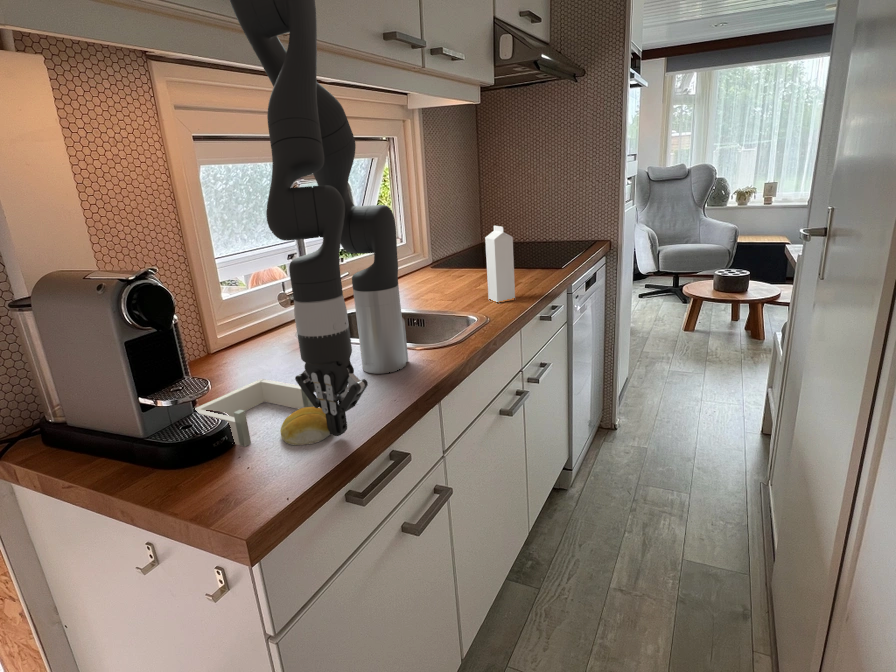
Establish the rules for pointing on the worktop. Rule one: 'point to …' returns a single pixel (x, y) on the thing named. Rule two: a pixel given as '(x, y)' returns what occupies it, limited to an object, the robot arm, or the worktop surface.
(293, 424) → the bread roll
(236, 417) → the holder
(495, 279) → the milk
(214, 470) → the worktop surface
